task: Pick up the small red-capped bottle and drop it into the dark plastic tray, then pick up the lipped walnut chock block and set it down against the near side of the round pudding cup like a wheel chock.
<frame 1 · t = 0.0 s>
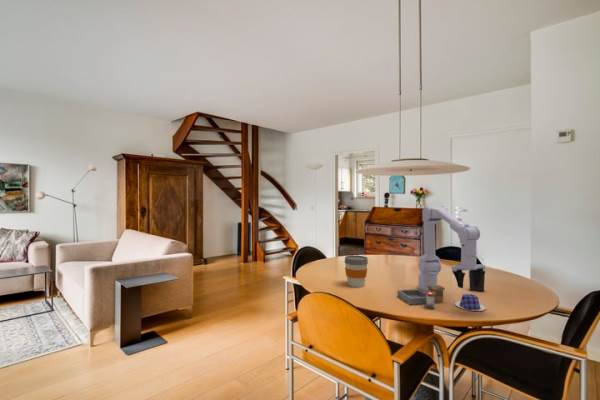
hand: (468, 287, 129), 10 cm above the table, tool pointing down, fingers open, 7 cm apart
reusable coffee cup: (356, 285, 166), on the table
tray: (414, 299, 142), on the table
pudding: (469, 307, 133), on the table
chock: (435, 301, 140), on the table
small red-capped bottle: (430, 307, 132), on the table
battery: (476, 290, 156), on the table
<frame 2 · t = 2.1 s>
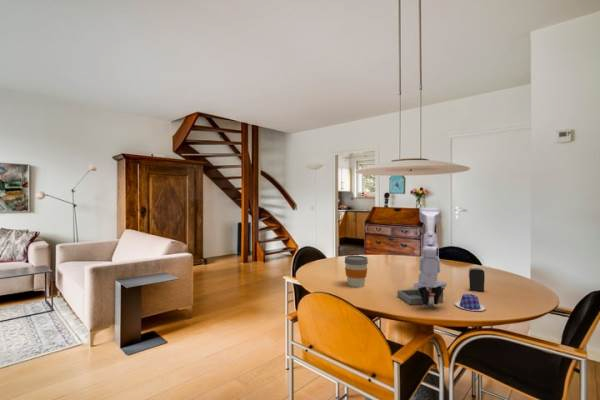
hand: (430, 304, 132), 2 cm above the table, tool pointing down, fingers closed on small red-capped bottle, 4 cm apart
small red-capped bottle: (430, 307, 132), on the table, touching gripper
everything else where it was.
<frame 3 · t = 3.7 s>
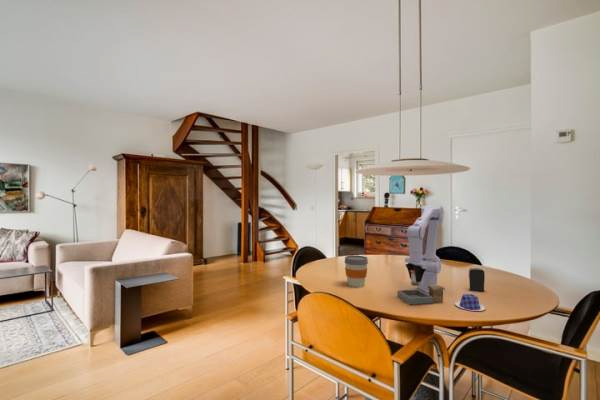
hand: (415, 280, 141), 9 cm above the table, tool pointing down, fingers closed on small red-capped bottle, 4 cm apart
small red-capped bottle: (415, 284, 141), point 7 cm above the table, touching gripper
everything else where it was.
when the fingers open (3 cm above the table, at t = 5.4 s): small red-capped bottle stays where it is, resting on tray.
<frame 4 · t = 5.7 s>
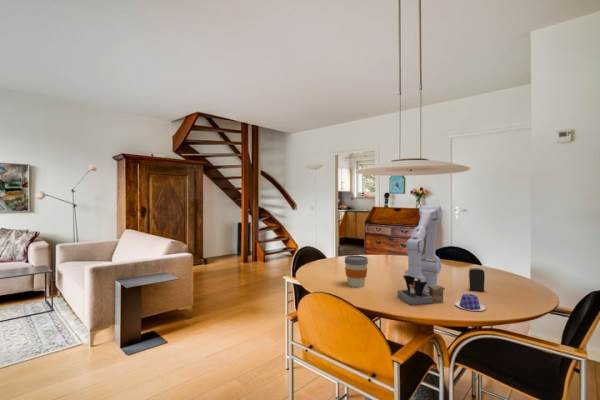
hand: (414, 293, 142), 3 cm above the table, tool pointing down, fingers open, 7 cm apart
small red-capped bottle: (413, 298, 142), point 1 cm above the table, touching tray
everything else where it was.
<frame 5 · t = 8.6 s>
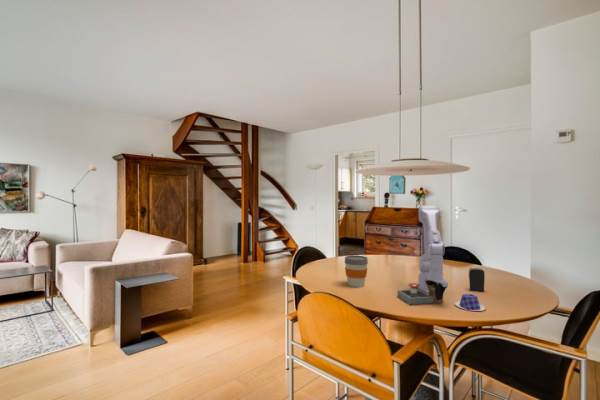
hand: (435, 297, 140), 2 cm above the table, tool pointing down, fingers closed on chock, 4 cm apart
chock: (435, 301, 140), on the table, touching gripper
everything else where it was.
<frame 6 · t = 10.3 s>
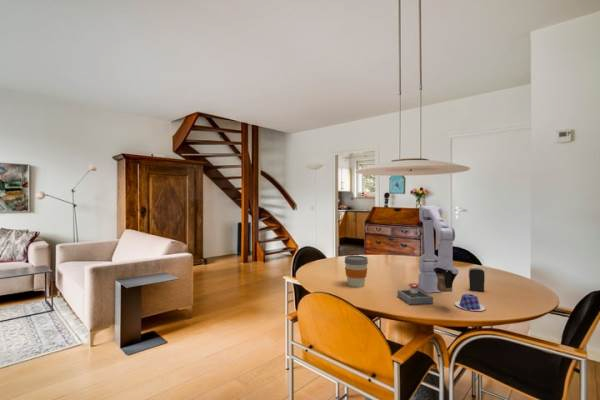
hand: (445, 286, 132), 9 cm above the table, tool pointing down, fingers closed on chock, 4 cm apart
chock: (444, 290, 132), point 7 cm above the table, touching gripper
when the fingers open (2 cm above the table, at t = 12.3 s): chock stays where it is, on the table.
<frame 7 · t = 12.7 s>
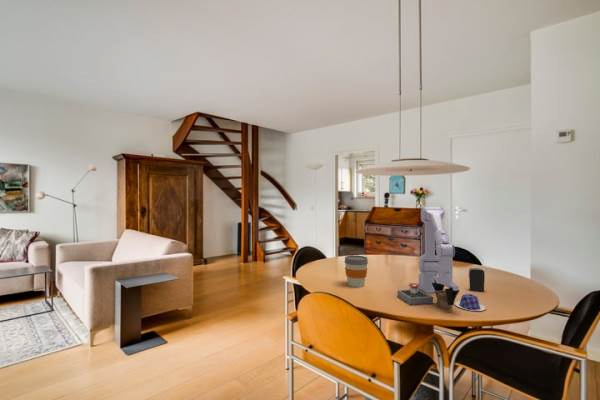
hand: (444, 301, 132), 2 cm above the table, tool pointing down, fingers open, 7 cm apart
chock: (444, 307, 133), on the table
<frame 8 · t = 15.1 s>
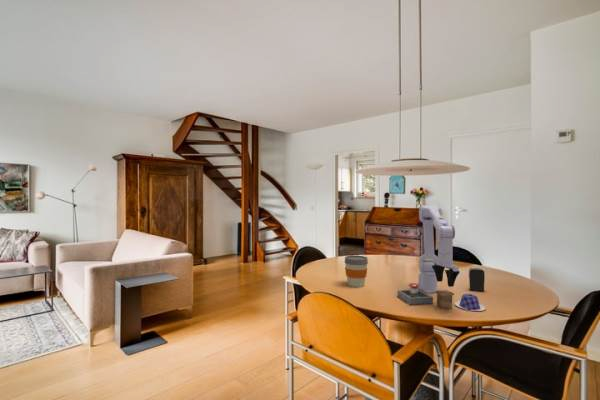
hand: (445, 283, 132), 10 cm above the table, tool pointing down, fingers open, 7 cm apart
at the end: small red-capped bottle inside the target area on the tray (0.4 cm from its centre), point 0.6 cm above the tray's base; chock inside the target area on the table beside the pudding (0.2 cm from its centre), point 0.5 cm above the table; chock tilted 0° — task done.
